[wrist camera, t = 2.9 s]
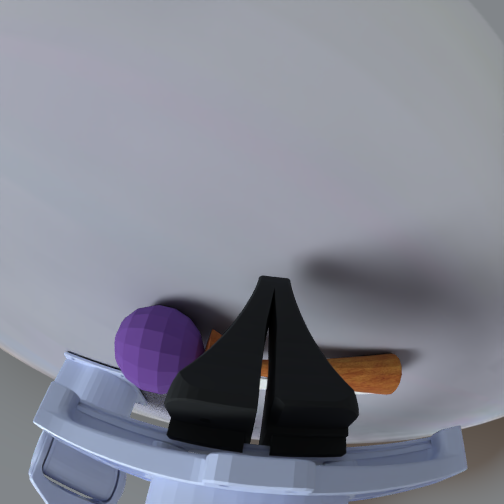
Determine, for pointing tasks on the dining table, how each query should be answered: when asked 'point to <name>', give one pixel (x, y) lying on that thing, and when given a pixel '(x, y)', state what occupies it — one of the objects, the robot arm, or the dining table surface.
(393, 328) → the dining table surface
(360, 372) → the kendama
